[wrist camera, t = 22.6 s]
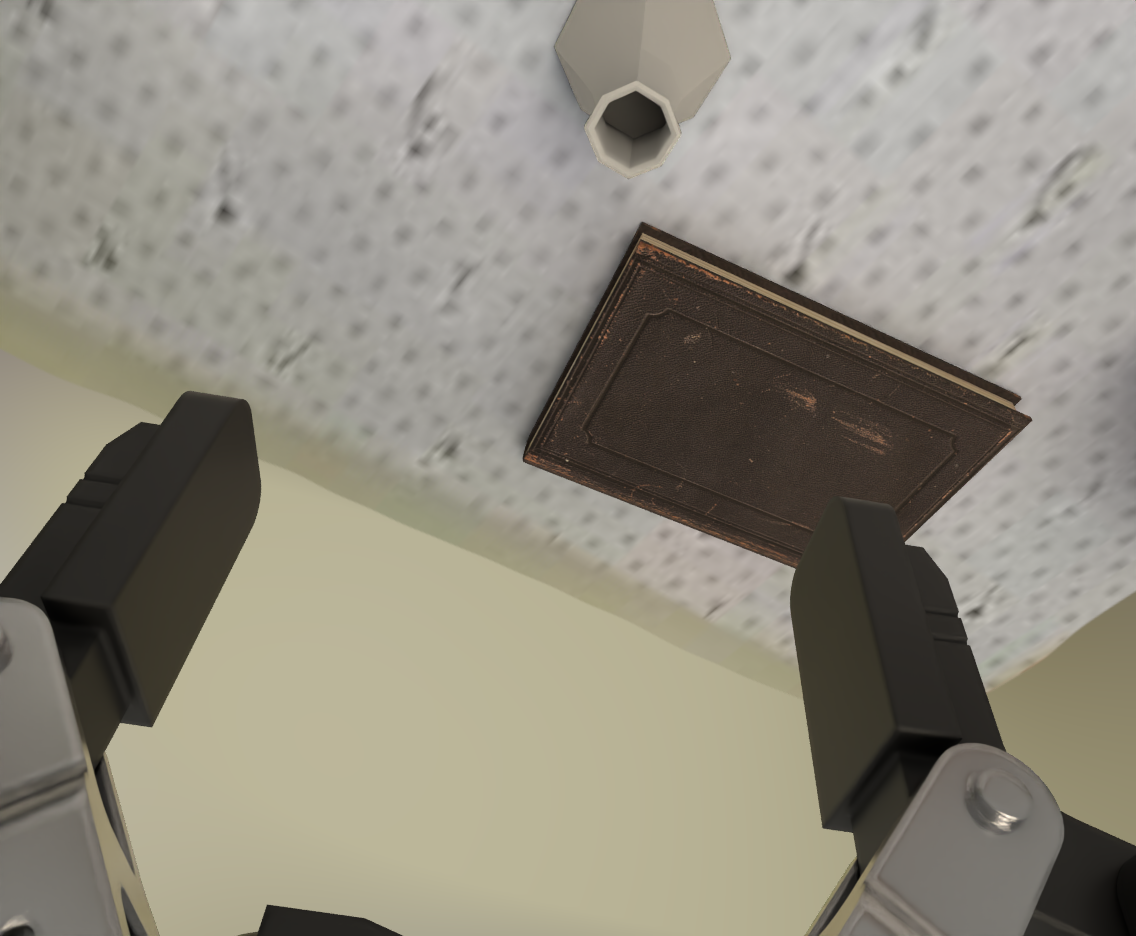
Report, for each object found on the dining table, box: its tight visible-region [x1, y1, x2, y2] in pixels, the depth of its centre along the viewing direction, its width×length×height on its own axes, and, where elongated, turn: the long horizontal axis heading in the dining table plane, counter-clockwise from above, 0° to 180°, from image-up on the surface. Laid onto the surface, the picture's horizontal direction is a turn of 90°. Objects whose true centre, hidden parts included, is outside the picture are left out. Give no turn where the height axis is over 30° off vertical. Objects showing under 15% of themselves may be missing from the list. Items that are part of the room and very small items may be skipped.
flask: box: [554, 0, 731, 179], centre depth 33 cm, size 7×7×10 cm
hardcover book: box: [523, 222, 1032, 568], centre depth 49 cm, size 16×23×2 cm
